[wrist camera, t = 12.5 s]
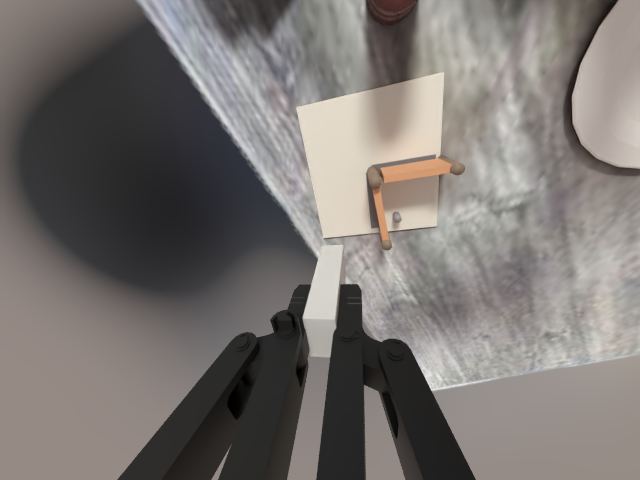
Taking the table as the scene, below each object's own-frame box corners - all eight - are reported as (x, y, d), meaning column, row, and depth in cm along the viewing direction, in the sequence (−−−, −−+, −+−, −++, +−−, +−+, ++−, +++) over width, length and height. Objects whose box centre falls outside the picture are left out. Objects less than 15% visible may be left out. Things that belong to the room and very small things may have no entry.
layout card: (443, 72, 29) (449, 69, 27) (435, 225, 39) (440, 231, 37) (296, 107, 33) (293, 106, 31) (323, 237, 43) (322, 243, 41)
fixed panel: (446, 153, 33) (466, 162, 27) (445, 164, 34) (464, 175, 28) (366, 167, 36) (368, 177, 30) (367, 177, 36) (369, 189, 30)
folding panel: (369, 180, 36) (371, 192, 31) (377, 178, 36) (382, 189, 30) (379, 231, 40) (383, 250, 35) (387, 230, 40) (392, 249, 34)
